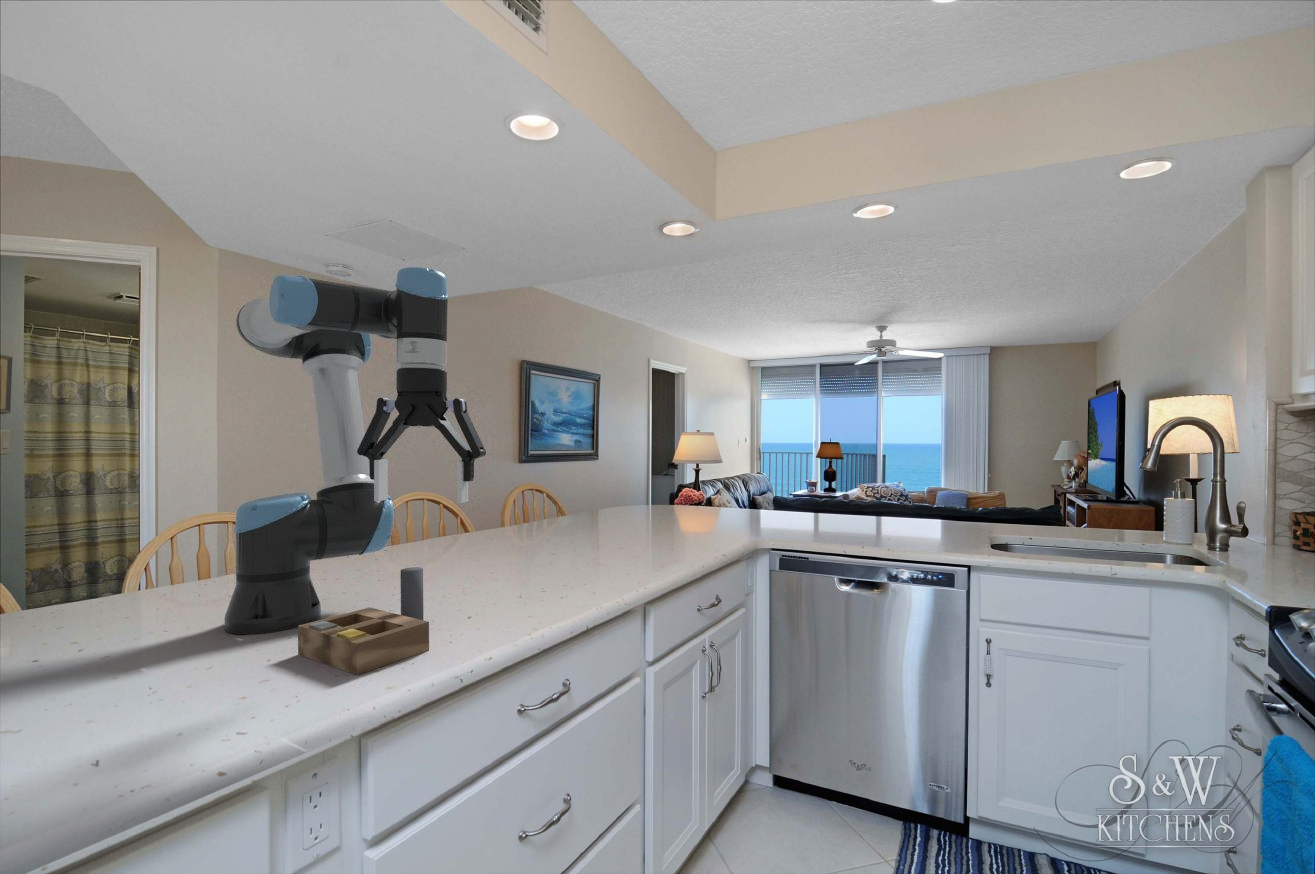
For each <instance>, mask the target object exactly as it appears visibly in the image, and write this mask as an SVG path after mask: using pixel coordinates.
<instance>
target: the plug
mask: <svg viewBox="0 0 1315 874" xmlns="http://www.w3.org/2000/svg"><path fill="white" fill-rule="evenodd" d="M399 572H400V615H403V616H407V617H411V618H415V619H419V620H423V621H425V620H424V568H423V567H419V566H411V567H405V568H402V569H400V571H399Z"/></svg>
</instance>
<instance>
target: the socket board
mask: <svg viewBox="0 0 1315 874" xmlns="http://www.w3.org/2000/svg"><path fill="white" fill-rule="evenodd" d="M423 620H424V619H423ZM423 620H419V619H415V618H411V617H407V616H403V615H401V614H398V613H395V612H390V611H386V610H381V609H377V608H373V607H366V608H361V609H358V610H354V611H351V612H347V613H343V614H338V615H335V616H330V617H326V618H323V619H319V620H318V619H317V620H316V621H314V622H311V623H307V624H303V625H299V626H298V627H297V652H298V653H297V654H298V655H299V656H302V657H304V658H308V659H311V660H312V661H316V662H319V663H321V664H325V665H327V666H329V667H332V668H336V669H338V670H341V671H345V672H348V673H349V674H353V675H356V676H360V675H362V674H365V673H368V672H370V671H373V670H376V669H379V668H383V667H385V666H388V665H391V664H394V663H396V662H400V661H402V660H406V659H408V658H411V657H413V656H416V655H419V654H422V653H424V652H428V651H430V622H429V620H428V621H427V620H424V621H423Z"/></svg>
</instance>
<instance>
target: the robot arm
mask: <svg viewBox="0 0 1315 874" xmlns="http://www.w3.org/2000/svg"><path fill="white" fill-rule="evenodd" d="M447 285H448V281H447V277H446V275H445V274H444V273H442V272H441V271H439V270H436V269H433V268H428V267H427V268H426V267H418V266H408V267H403V268H400V269H399V270H398V271H397V273H396V283H395V285H394V286H395V288H396V289H395V290H387V289H381V288H373V287H368V286H367V287H366V286H361V285H353V284H347V283H339V282H335V281H334V282H333V281H328V280H327V281H326V280H322V279H316V278H315V279H314V278H309V277H306V276H304V275H288V274H287V275H286V274H280V275H277V276H276V277H274V279H273V280H272V284H271V286H270V290H269V297H268V298H267V297H261V298H255V299H253V300H250V301H248V302H247V303H246V304H244V305H243V306H241V308H240V309H239V310H238V313H237V315H236V319H235V321H236V322H235V325H236V330H237V332H238V335H239V336H240V338H242V340H243V341H244V342H245V343H246V344H247V345H249V346H250V347H252V348H253V349H255V350H257V351H259V352H261V353H263V354H267V355H270V356H274V357H276V358H277V357H278V358H285V359H295V360H301V362H302V369H303V371H304V372H305V373H307V374H308V375H310V376H312V384H313V395H314V404H315V413H316V422H317V432H318V442H319V443H318V444H319V451H320V460H321V469H322V479H323V483H322V485H321V487H319V489H318V490H317V491H316V494H315V495H316V499H311V497H310V495H309V494H308V493H307V492H294V493H289V494H288V493H284V494H283V493H282V494H277V495H271V496H266V497H262V498H257V499H254V500H253V499H252V500H249V501H247V502H244V503H242V504H241V505H240V506H239V507H238V508H237V509H236V515H235V525H234V533H235V587H234V590H233V592H232V595H231V597H230V600H229V603H228V606H227V610H226V612H225V615H224V620H223V621H224V631H225V632H227V633H229V634H234V635H235V634H236V635H259V634H269V633H270V634H271V633H275V632H276V633H277V632H283V631H287V630H292V629H296V628H298V626H299V625H303V624H307V623H311V622H315V621H318V619H319V620H320V617H321V616H322V615H321V614H322V611H321V610H322V609H321V608H322V606H321V601H320V599H319V596H318V593H317V591H316V589H315V585H314V584H313V581H312V579H311V562H312V561H318V560H319V561H320V560H327V559H333V558H340V557H342V558H343V557H348V556H349V557H350V556H355V555H358V556H362V555H364V554H370V553H375V552H379V551H382V550H383V549H384V548H385V547H386V546H387V545H388V544H389V541H390V540H391V536H392V533H393V529H394V526H395V525H394V524H395V523H394V522H395V505H394V503H393V502H394V501H393V500H392V498H391V495H389V492H388V490H389V489H388V487H389V486H388V485H389V484H388V483H389V481H388V479H389V475H388V474H389V473H388V472H389V470H388V469H389V468H388V467H389V460H388V458H387V459H386V458H385V456H386V454H387V453H388V451H389V450H390V449H391V448H392V446H393V445H394V444H395V443H396V442H397V440H398V439H399V438H400V436H401V435H402V434H403V433H404V432H405V431H406V430H407V429H408V428H410V427H426V428H427V427H429V428H431V427H434V428H435V429H437V430H438V431H439V432H440V433H441V434H442V436H443V437H444V438H445V440H446V441H447V442H448V444H449V445H450V446H451V447H452V448H453V450H454V451H455V452H456V453H457V454H458V456H459V457H460V458H461V459H460V460H459V461H456V504H464V503H467V502H469V485H470V484H469V482H472V481H474V479H475V461H476V460H477V459H479V458H481V457H485V456H486V455H487V450H486V449H485V446H484V444H483V443H482V441H481V438H480V436H479V433H478V431H477V430H476V427H475V426H474V424H473V421H472V419H471V417H470V415H469V413H468V406H467V405H468V404H467V400H466V399H465V398H457V397H456V398H454V399H451V400H448V397H447V391H448V390H447V389H448V372H447V371H446V370H445V369H444V368H446V367H447V366H448V338H447V337H448V299H449V294H448V286H447ZM371 335H375V336H377V337H379V338H382V339H393V340H396V364H397V365H398V366H400V368H398V369H396V376H395V377H396V381H395V382H396V384H395V385H396V386H395V387H396V392H397V396H396V399H391V398H388V397H378V399H377V400H376V406H375V407H376V408H375V412H374V414H373V417H372V419H371V421H370V423H369V425H368V427H367V429H366V430H365V423H364V417H363V409H362V401H361V393H360V386H359V378H358V374H359V373H360V372H361V371H362V370H363V368H364V365H365V363H367V362H368V361H369V359H370V356H371V353H372V347H371V344H372V336H371ZM395 409H396V411H397V412H398V415H397V416H396V417H395V419H394V420H393V421H392V424H391V426H390V427H389V428H388V429H387V431H386V432H385V433H384V434H383V435H382V433H383V431H384V430H385V428H386V425H387V423H388V421H389V419H390V417H391V414H392V413H393V412H394V410H395ZM449 409H450V411H451V412H452V414H454V418H455V420H456V421H457V424H458V426H459V428H460V429H461V432H462V434H463V437H464V438H465V440H466V442H465V441H464V439H462V436H460V434H459V433H458V432H457V431H456V429H455V428H454V427H453V426H452V424H451V422H450V420H449V419H448V418H447V416H446V415H445V414H446V412H447V411H448V410H449ZM381 435H382V436H381ZM380 437H381V438H380ZM467 444H468V445H467Z"/></svg>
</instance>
